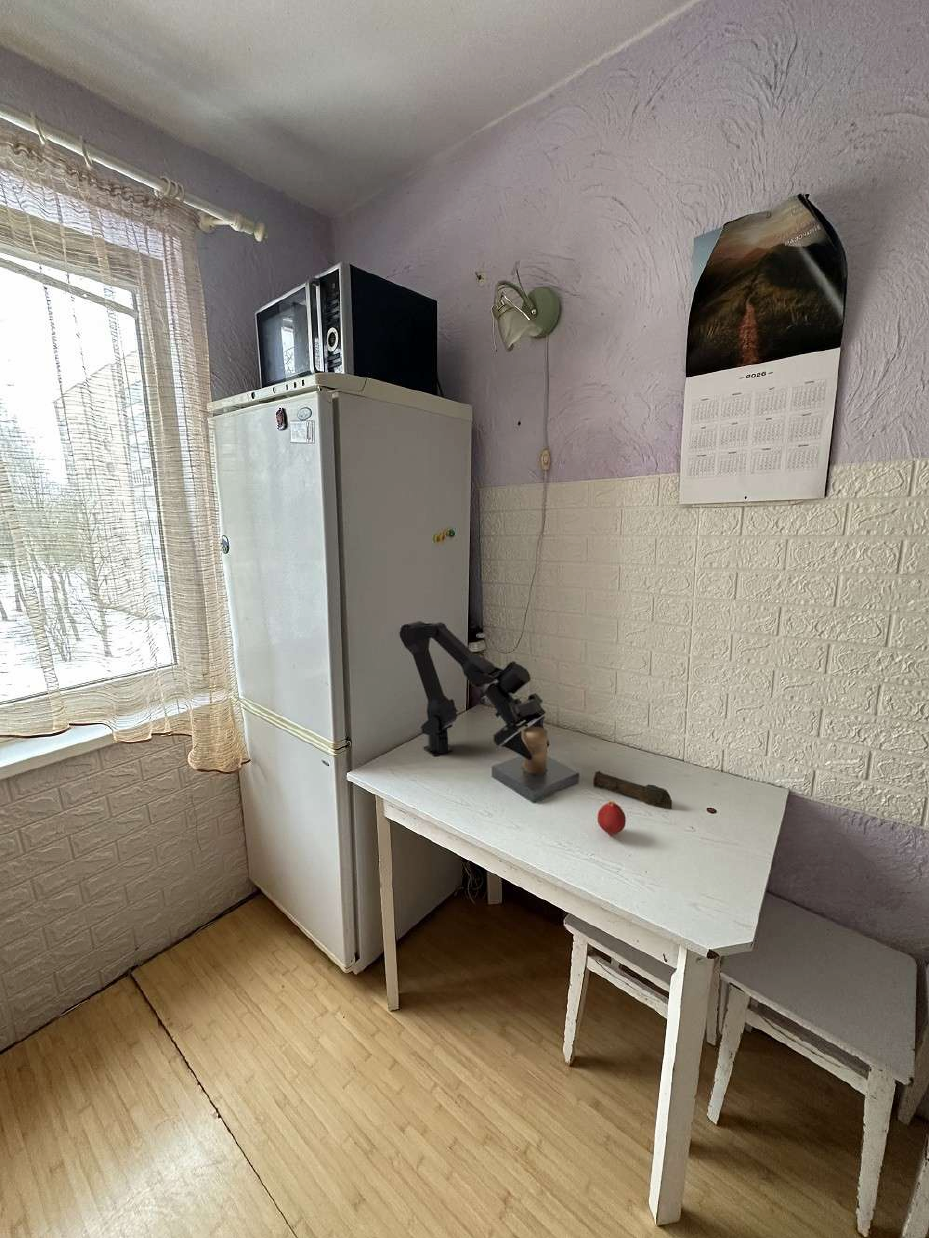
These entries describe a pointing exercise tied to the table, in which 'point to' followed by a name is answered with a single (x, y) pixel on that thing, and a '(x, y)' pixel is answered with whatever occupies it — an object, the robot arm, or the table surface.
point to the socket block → (535, 778)
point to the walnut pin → (535, 750)
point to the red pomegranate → (611, 818)
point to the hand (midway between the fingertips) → (540, 752)
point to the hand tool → (634, 790)
